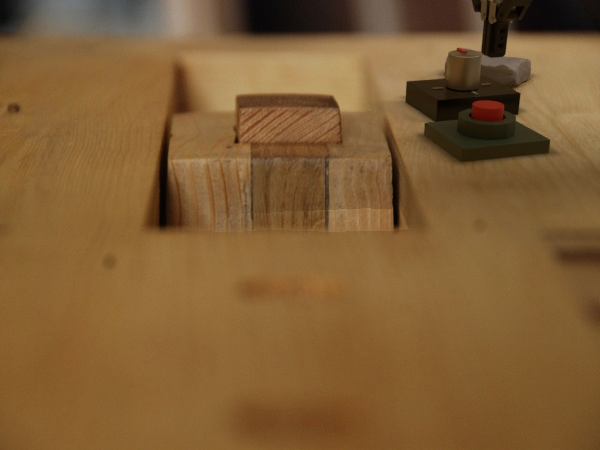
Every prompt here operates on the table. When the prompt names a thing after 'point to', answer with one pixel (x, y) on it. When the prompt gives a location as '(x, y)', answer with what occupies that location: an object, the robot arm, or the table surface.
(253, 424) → the table surface
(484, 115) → the button
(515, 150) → the button box
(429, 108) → the panel
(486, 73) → the stone block
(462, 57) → the dial
